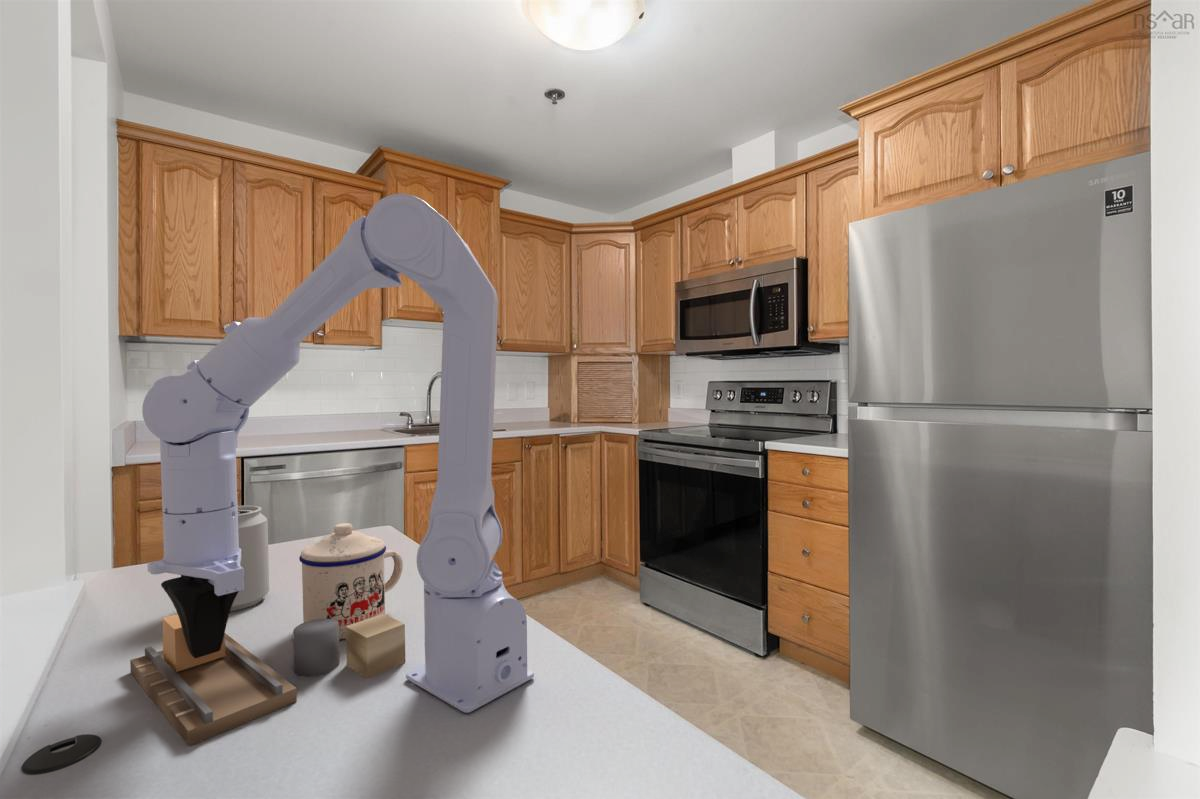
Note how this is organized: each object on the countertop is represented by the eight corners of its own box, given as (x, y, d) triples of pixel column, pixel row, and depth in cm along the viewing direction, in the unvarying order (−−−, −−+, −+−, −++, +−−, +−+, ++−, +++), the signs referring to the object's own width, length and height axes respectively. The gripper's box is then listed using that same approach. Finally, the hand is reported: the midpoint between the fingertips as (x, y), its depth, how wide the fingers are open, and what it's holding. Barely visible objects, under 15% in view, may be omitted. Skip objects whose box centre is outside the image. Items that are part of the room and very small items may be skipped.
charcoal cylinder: (346, 665, 57) (345, 625, 57) (305, 681, 54) (304, 639, 54) (328, 653, 60) (327, 615, 60) (287, 668, 57) (286, 628, 57)
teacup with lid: (327, 650, 61) (324, 539, 60) (286, 628, 66) (283, 527, 66) (424, 613, 70) (422, 517, 70) (381, 596, 76) (379, 508, 75)
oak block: (405, 663, 58) (404, 623, 58) (367, 679, 55) (366, 637, 55) (383, 651, 61) (383, 613, 60) (346, 666, 57) (345, 626, 57)
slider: (225, 656, 57) (224, 615, 56) (176, 672, 53) (174, 629, 53) (211, 644, 59) (210, 605, 59) (163, 659, 56) (162, 618, 56)
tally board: (296, 701, 51) (296, 679, 51) (188, 746, 45) (187, 720, 45) (224, 643, 62) (223, 624, 62) (129, 672, 56) (129, 651, 56)
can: (282, 592, 77) (280, 503, 77) (242, 615, 70) (239, 516, 70) (229, 591, 78) (227, 502, 78) (184, 613, 71) (181, 515, 70)
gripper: (126, 504, 55) (131, 645, 56) (172, 528, 46) (177, 697, 46) (212, 493, 61) (216, 621, 61) (268, 512, 51) (272, 663, 52)
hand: (205, 652), depth 54 cm, fingers closed
